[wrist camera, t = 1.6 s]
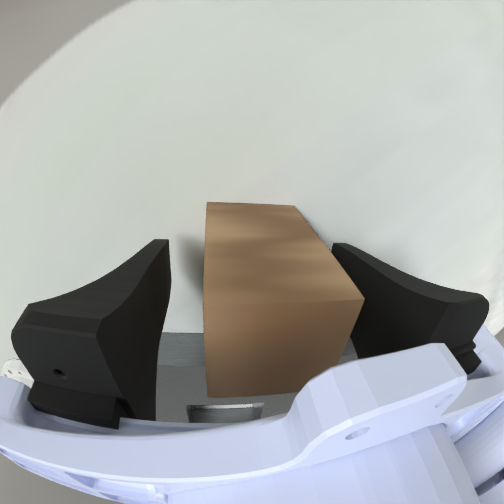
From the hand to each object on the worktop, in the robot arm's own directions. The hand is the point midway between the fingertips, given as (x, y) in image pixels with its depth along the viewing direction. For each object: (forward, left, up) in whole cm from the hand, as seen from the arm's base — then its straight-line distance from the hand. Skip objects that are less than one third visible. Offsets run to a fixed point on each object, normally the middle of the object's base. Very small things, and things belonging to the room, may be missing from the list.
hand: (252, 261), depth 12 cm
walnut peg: (0, 0, -2) cm, 2 cm away
